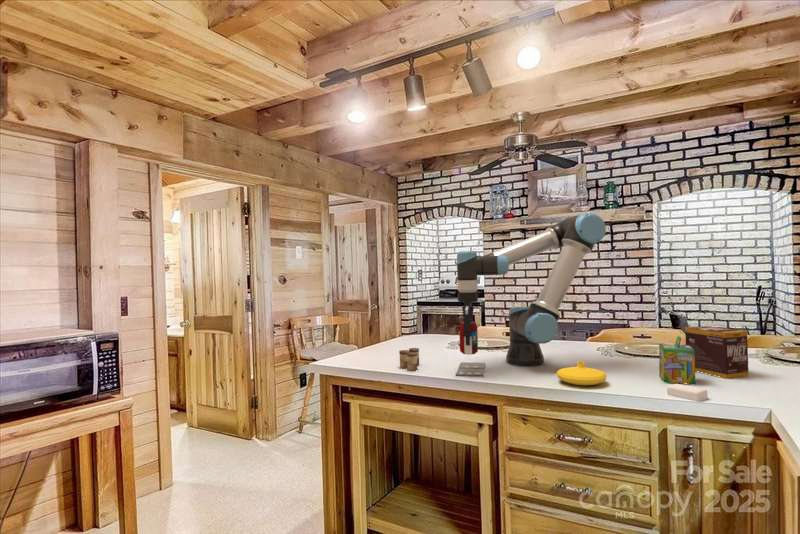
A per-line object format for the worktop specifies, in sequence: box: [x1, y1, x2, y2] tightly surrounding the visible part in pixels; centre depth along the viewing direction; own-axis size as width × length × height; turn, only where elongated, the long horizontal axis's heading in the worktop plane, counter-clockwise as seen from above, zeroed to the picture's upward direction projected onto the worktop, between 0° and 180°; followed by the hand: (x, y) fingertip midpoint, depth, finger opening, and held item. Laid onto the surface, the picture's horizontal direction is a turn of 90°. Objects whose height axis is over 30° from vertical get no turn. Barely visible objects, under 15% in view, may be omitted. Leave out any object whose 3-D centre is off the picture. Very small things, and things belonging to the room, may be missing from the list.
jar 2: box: [408, 347, 420, 367], centre depth 185 cm, size 4×4×7 cm
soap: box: [666, 383, 709, 402], centre depth 130 cm, size 9×6×3 cm, turn 29°
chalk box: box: [658, 335, 697, 385], centre depth 148 cm, size 9×9×15 cm
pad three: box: [455, 367, 485, 378], centre depth 167 cm, size 10×10×1 cm
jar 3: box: [406, 352, 419, 372], centre depth 176 cm, size 4×4×7 cm
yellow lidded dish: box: [556, 361, 608, 386], centre depth 149 cm, size 16×16×7 cm
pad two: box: [458, 362, 486, 370], centre depth 178 cm, size 10×10×1 cm
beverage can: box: [459, 320, 479, 355], centre depth 167 cm, size 7×7×12 cm
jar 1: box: [399, 349, 410, 370], centre depth 180 cm, size 4×4×7 cm
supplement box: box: [684, 325, 750, 379], centre depth 156 cm, size 10×15×16 cm
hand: (469, 351), depth 167 cm, fingers closed on beverage can, 7 cm apart
